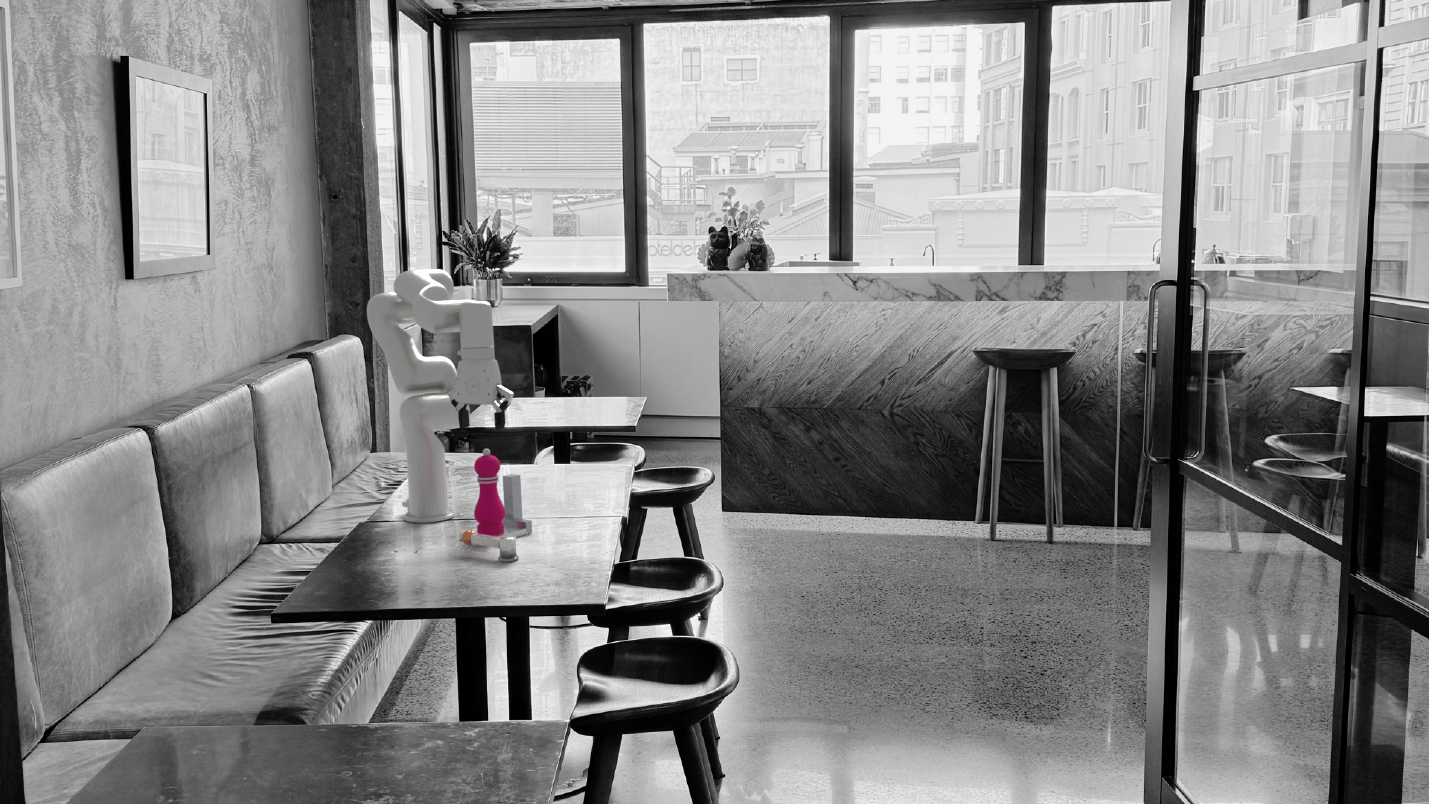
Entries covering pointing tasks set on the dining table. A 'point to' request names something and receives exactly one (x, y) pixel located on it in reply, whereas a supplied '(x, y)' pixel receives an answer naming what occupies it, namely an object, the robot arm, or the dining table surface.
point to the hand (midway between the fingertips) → (482, 428)
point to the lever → (492, 542)
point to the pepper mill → (488, 496)
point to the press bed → (512, 512)
